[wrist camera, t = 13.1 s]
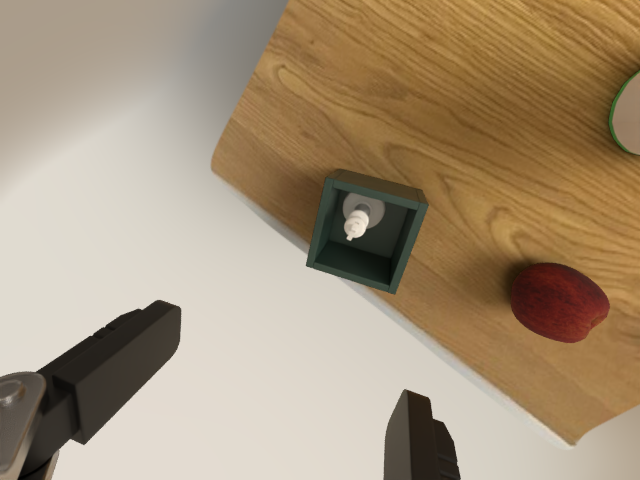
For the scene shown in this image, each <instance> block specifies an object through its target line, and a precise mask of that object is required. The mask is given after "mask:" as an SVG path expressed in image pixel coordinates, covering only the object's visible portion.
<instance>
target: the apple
mask: <svg viewBox="0 0 640 480" xmlns="http://www.w3.org/2000/svg"><path fill="white" fill-rule="evenodd" d="M511 307H512V311H513V313H514V315H515V317H516V318H517V319H518V321H519V322H520V323H522V324H523V325H524V326H525V327H526V328H528V329H529V330H531V331H533V332H534V333H536V334H539V335H541V336H544V337H546V338H549V339H552V340H556V341H560V342H565V343H575V342H578V341H581V340H583V339H584V338H586V336H587V335H588V333H589V331H590V330H591V329H592V328H593V327H595V326H596V325H598V324H599V323H601V322H602V321H603V320H604V319H605V318H606V317H607V315H608V312H609V309H610V304H609V301H608V298H607V296H606V295H605V293H604V292H603V291H602V289H601V288H600V287H599V286H598V285H597V284H596V283H594V282H593V281H592V280H591V279H589V278H588V277H587V276H585V275H584V274H582V273H580V272H579V271H577V270H575V269H573V268H570V267H568V266H565V265H562V264H557V263H537V264H534V265H531V266H529V267H527V268H526V269H524V270H523V271H522V272H521V273H520V274H519V275H518V276H517V277H516V279H515V280H514V282H513V285H512V290H511Z"/></svg>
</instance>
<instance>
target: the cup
mask: <svg viewBox="0 0 640 480" xmlns="http://www.w3.org/2000/svg"><path fill="white" fill-rule="evenodd" d="M608 123H609V127H610V131H611V134H612V136H613V139H614V140H615V141H616V142H617V143H618V145H619V146H620V147H622V148H623V149H624V150H625V151H626V152H629V153H633V154H636V155H640V70H639V71H638V72H637V73H635V74H634V75H633V76H632V77H631V78H630V79H629V80H627V81H626V82H625V83H624V85H623V86H622V88H621V89H620V91H619V93H618V94H617V96H616V98H615V100H614V101H613V104H612V107H611V111H610V116H609V122H608Z"/></svg>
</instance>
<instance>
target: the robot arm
mask: <svg viewBox="0 0 640 480" xmlns="http://www.w3.org/2000/svg"><path fill="white" fill-rule="evenodd" d="M180 329H181V308H180V307H179V306H176V305H173V304H170V303H168V302H165V301H162V300H157V301H155V302H153V303H152V304H150V305H149V306H148V307H146V308H145V309H143V310H141V309H136V310H134V311H131V312H129V313H126V314H123V315H120V316H119V317H118V318H116V319H115V320H113V321H112V322H110V323H109V324H107V325H106V327H105V328H104V327H103V328H101V329H100V330H98V331H97V332H95V333H94V334H93V336H89V337H88V338H86V339H85V340H83V341H82V342H80V343H79V344H77V345H76V346H74V347H73V348H71V349H70V350H68V351H67V352H65V353H64V354H62V355H61V356H59V357H58V358H56V359H55V360H53V361H52V362H50V363H49V364H47V365H46V366H44V367H43V368H41V369H40V370H38V371H36V372H17V373H12V374H8V375H5V376H2V377H0V480H51V478H52V475H53V472H54V469H55V466H56V463H57V460H58V456H59V449H60V448H61V447H62V446H63V445H64V444H65V443H66V442H67V441H68V440H69V439H72V440H74V441H76V442H79V443H81V444H83V445H85V444H86V443H87V442H88V441H89V440H90V439H91V438H92V437H93V436H94V435H95V434H96V433H97V432H98V431H99V430H100V429H101V428H102V427H103V426H104V424H106V422H108V421H109V420H110V419H111V417H113V416H114V415H115V414H116V412H118V411H119V409H120V408H121V407H122V406H123V405H124V404H125V403H126V402H127V401H128V400H129V399H130V398H131V397H132V396H133V395H134V394H135V393H136V392H137V391H138V390H139V389H140V388H141V387H142V386H143V385H144V384H145V383H146V382H147V381H148V380H149V379H150V378H151V377H152V376H153V375H154V374H155V373H156V372H157V371H158V370H159V369H160V368H161V367H162V366H163V365H164V364H165V363H166V362H167V361H168V360H169V359H170V358H171V357H172V356H173V354H174V353H175V352H176V350H177V348H178V345H179V342H180ZM460 479H461V478H460V473H459V467H458V466H457V457H456V451H455V446H454V441H453V440H452V438H451V436H450V434H449V432H448V430H447V428H446V426H445V424H444V423H443V422H441V421H438V420H435V419H433V416H432V409H431V403H430V399H429V398H428V397H425V396H423V395H420V394H417V393H414V392H412V391H409V390H406V389H404V390H403V392H402V394H401V396H400V398H399V400H398V402H397V405H396V407H395V409H394V411H393V413H392V415H391V418H390V420H389V423H388V426H387V430H386V436H385V453H384V480H460Z"/></svg>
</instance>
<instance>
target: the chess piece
mask: <svg viewBox="0 0 640 480" xmlns="http://www.w3.org/2000/svg"><path fill="white" fill-rule="evenodd" d="M384 213H385V202H384V201H380V200H377V199H373V198H369V197H366V196H362V195H358V194H355V193H351V192H349V193H348V195H347V196H346V197H345V199H344V202H343V214H344V217H345V218H346V222H345V224H344V230H345V232H346V233H347V235H348V237H347V239H348V240H350V241H351V240H352V238H353V237H354V238H357V237H360V236H362V235H363V234H364V232H365V230H366V229H368V228H371V227H373V226H375V225H377V224H378V223H379V222H380V221H381V219H382V218H383V216H384Z"/></svg>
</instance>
